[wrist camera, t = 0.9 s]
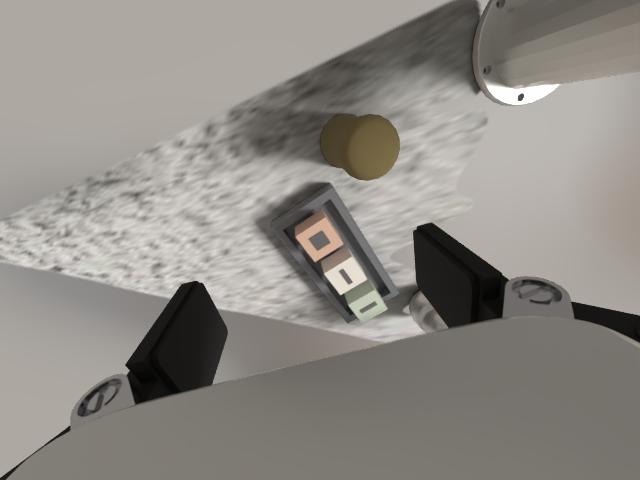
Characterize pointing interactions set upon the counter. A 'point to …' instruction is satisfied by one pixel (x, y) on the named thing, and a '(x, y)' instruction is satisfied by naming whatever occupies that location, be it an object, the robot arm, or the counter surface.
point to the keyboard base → (350, 238)
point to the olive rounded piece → (360, 145)
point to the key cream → (343, 270)
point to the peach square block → (318, 235)
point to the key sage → (365, 301)
